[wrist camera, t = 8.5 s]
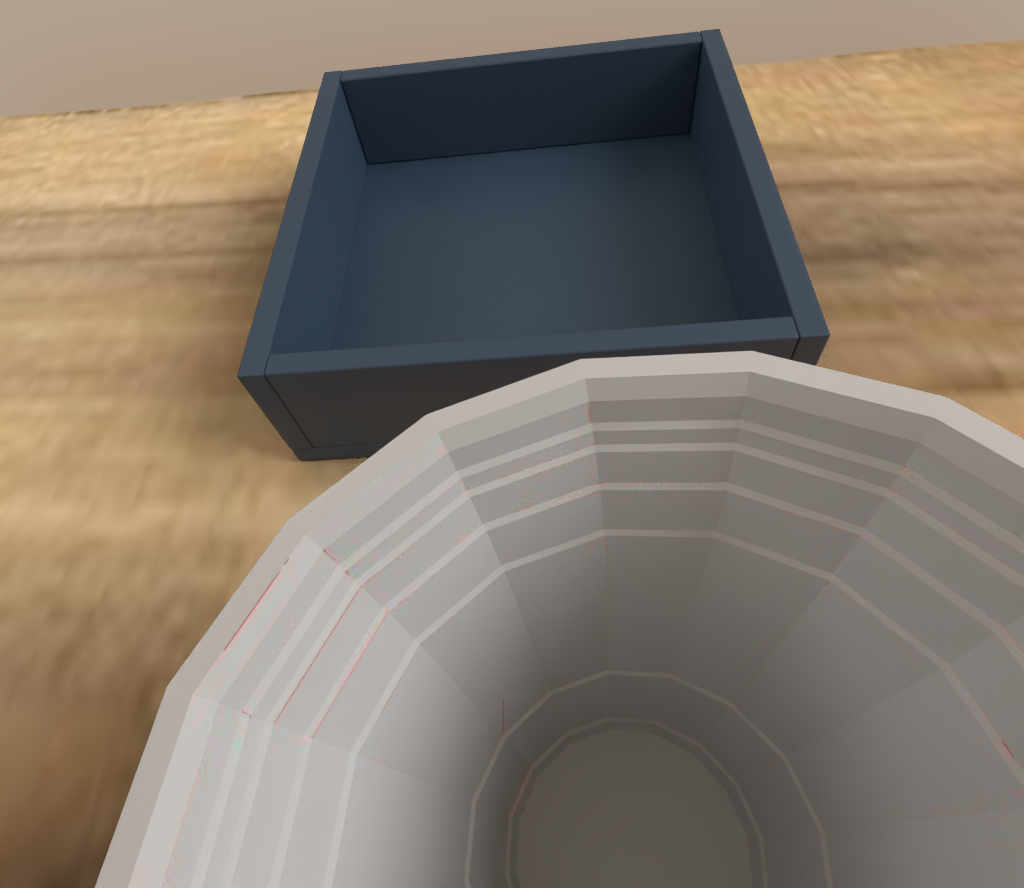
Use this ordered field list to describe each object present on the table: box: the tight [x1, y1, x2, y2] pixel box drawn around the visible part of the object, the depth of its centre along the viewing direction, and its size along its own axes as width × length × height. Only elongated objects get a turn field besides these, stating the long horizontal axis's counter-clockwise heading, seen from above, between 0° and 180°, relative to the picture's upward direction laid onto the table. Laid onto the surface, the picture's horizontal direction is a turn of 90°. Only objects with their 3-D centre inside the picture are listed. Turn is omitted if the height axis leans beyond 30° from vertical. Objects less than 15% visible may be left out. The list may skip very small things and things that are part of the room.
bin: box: [237, 29, 830, 461], centre depth 24 cm, size 17×17×5 cm
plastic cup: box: [95, 351, 1024, 888], centre depth 10 cm, size 11×11×12 cm
